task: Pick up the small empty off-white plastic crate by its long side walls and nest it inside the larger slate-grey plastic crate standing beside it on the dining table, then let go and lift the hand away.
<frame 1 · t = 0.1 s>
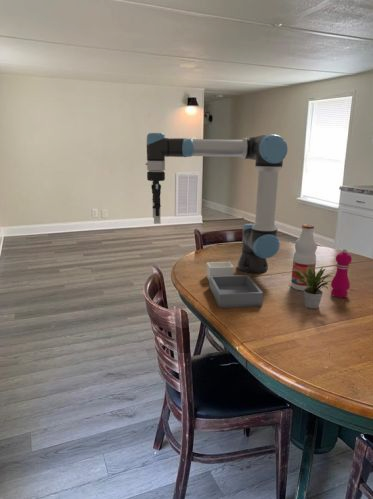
hand: (156, 220, 164), 28 cm above the table, tool pointing down, fingers open, 13 cm apart
fruit juice: (301, 287, 165), on the table
white crate: (219, 279, 174), on the table
slate crate: (234, 296, 154), on the table
house plant: (312, 307, 145), on the table
pepper mill: (339, 295, 157), on the table
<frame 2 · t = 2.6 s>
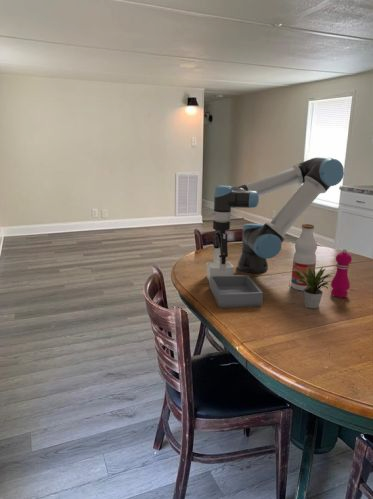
hand: (219, 266, 173), 6 cm above the table, tool pointing down, fingers open, 13 cm apart
nothing on the table moved.
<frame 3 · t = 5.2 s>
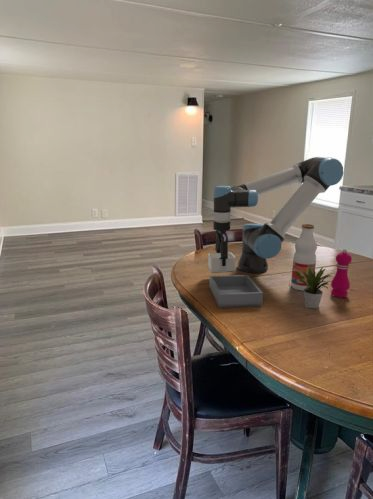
hand: (221, 269, 173), 5 cm above the table, tool pointing down, fingers closed on white crate, 8 cm apart
white crate: (221, 269, 173), point 4 cm above the table, touching gripper
everything else where it was.
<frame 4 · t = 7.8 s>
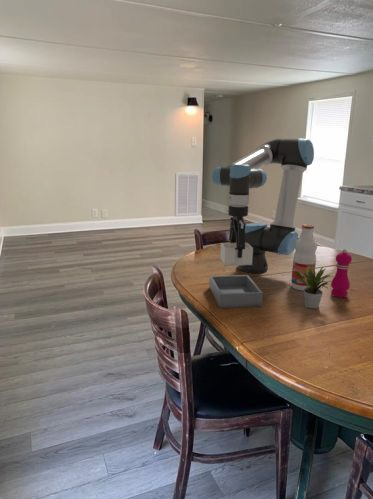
hand: (235, 261, 150), 15 cm above the table, tool pointing down, fingers closed on white crate, 8 cm apart
white crate: (235, 262, 150), point 15 cm above the table, touching gripper
everything else where it was.
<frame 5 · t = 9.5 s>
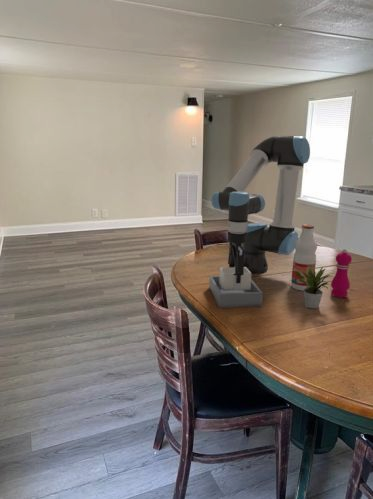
hand: (234, 286, 153), 5 cm above the table, tool pointing down, fingers closed on white crate, 8 cm apart
white crate: (234, 286, 153), point 4 cm above the table, touching gripper
everything else where it was.
when the fingers open (3 cm above the table, at t = 10.8 s): white crate drops 1 cm, resting on slate crate.
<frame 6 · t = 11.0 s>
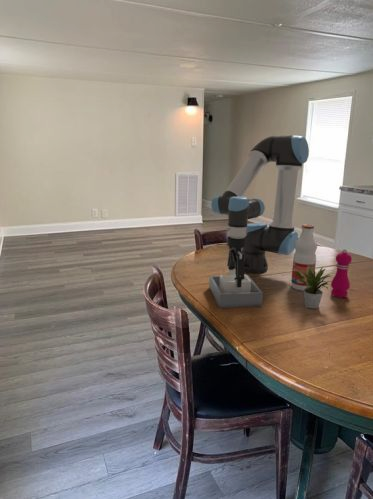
hand: (234, 289, 153), 3 cm above the table, tool pointing down, fingers open, 10 cm apart
white crate: (234, 294, 154), point 1 cm above the table, touching slate crate
everything else where it was.
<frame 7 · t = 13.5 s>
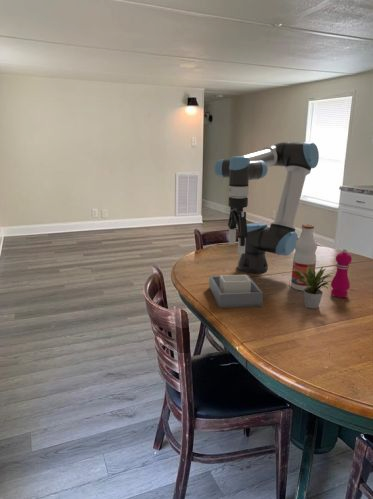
hand: (236, 248, 153), 19 cm above the table, tool pointing down, fingers open, 13 cm apart
nothing on the table moved.
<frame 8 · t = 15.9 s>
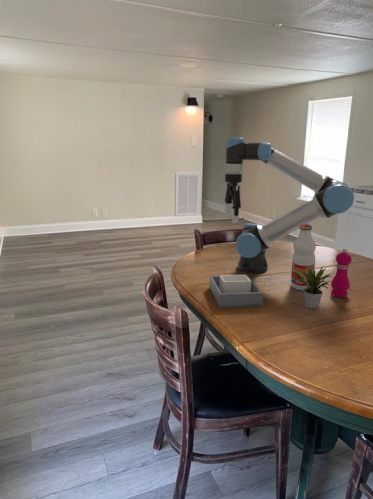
hand: (231, 220, 174), 27 cm above the table, tool pointing down, fingers open, 13 cm apart
fruit juice: (301, 286, 165), point 1 cm above the table, touching arm
everything else where it was.
at the end: white crate inside the target area on the slate crate (0.1 cm from its centre), point 1.0 cm above the slate crate's base; white crate tilted 0°; the gripper is holding nothing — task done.
